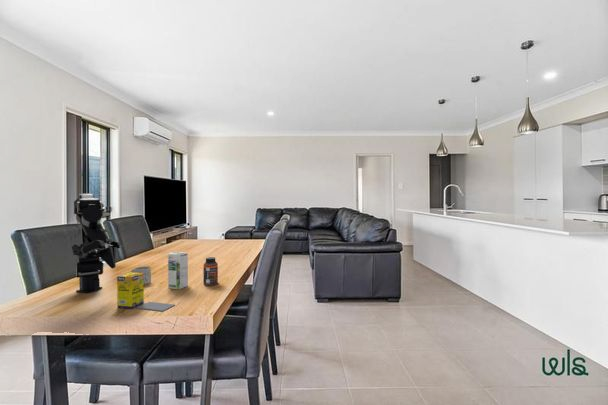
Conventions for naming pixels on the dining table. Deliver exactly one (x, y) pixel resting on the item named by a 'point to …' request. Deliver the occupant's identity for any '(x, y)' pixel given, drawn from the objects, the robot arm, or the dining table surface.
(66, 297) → the dining table surface
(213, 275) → the supplement bottle
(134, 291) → the supplement box
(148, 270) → the grey box
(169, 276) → the syrup box
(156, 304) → the mat
